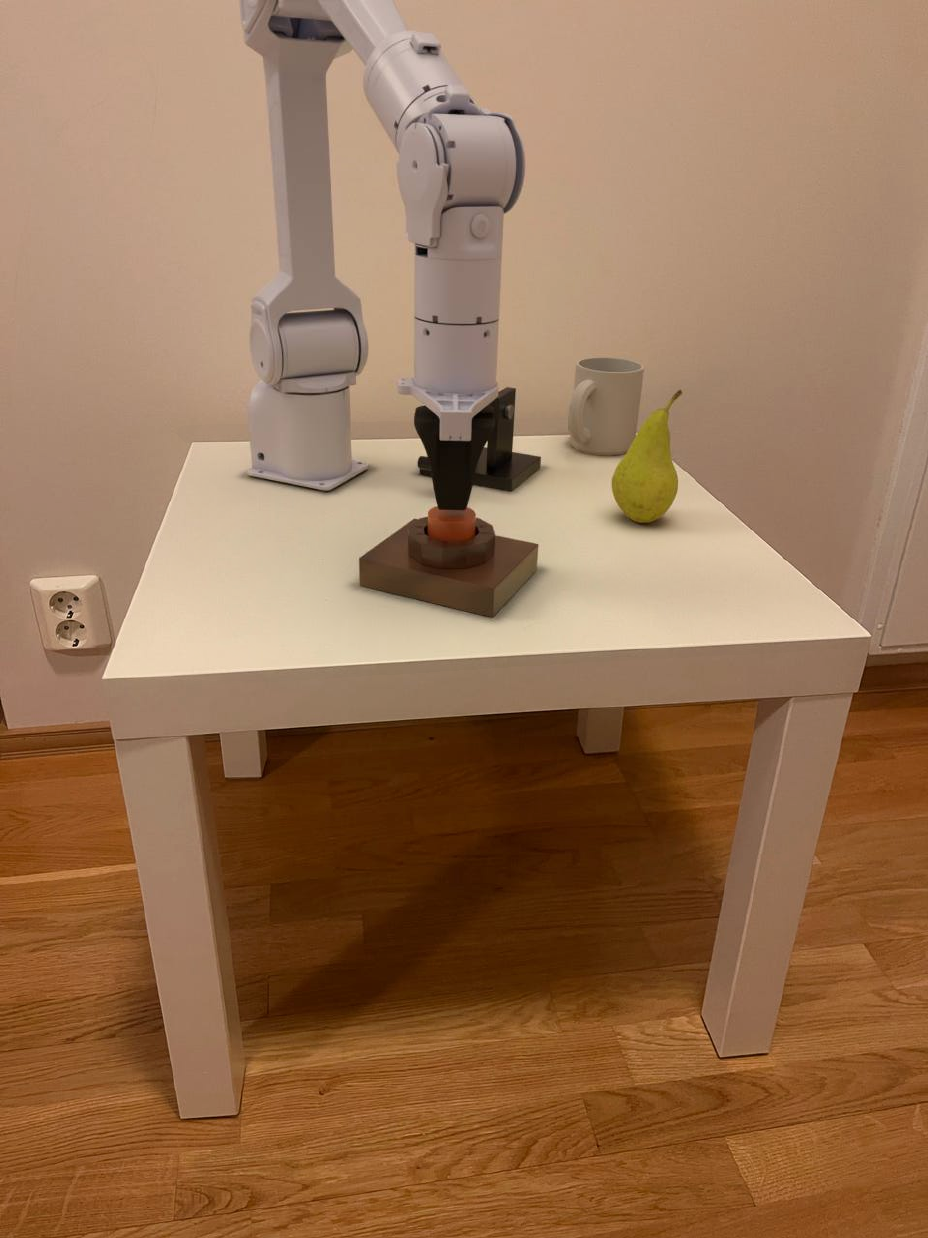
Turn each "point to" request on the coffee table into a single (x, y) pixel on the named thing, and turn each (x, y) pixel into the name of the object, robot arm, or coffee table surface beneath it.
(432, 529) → the button
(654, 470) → the fruit
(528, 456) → the switch bracket
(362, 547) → the coffee table surface
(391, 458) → the coffee table surface
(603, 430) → the cup
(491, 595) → the button block
